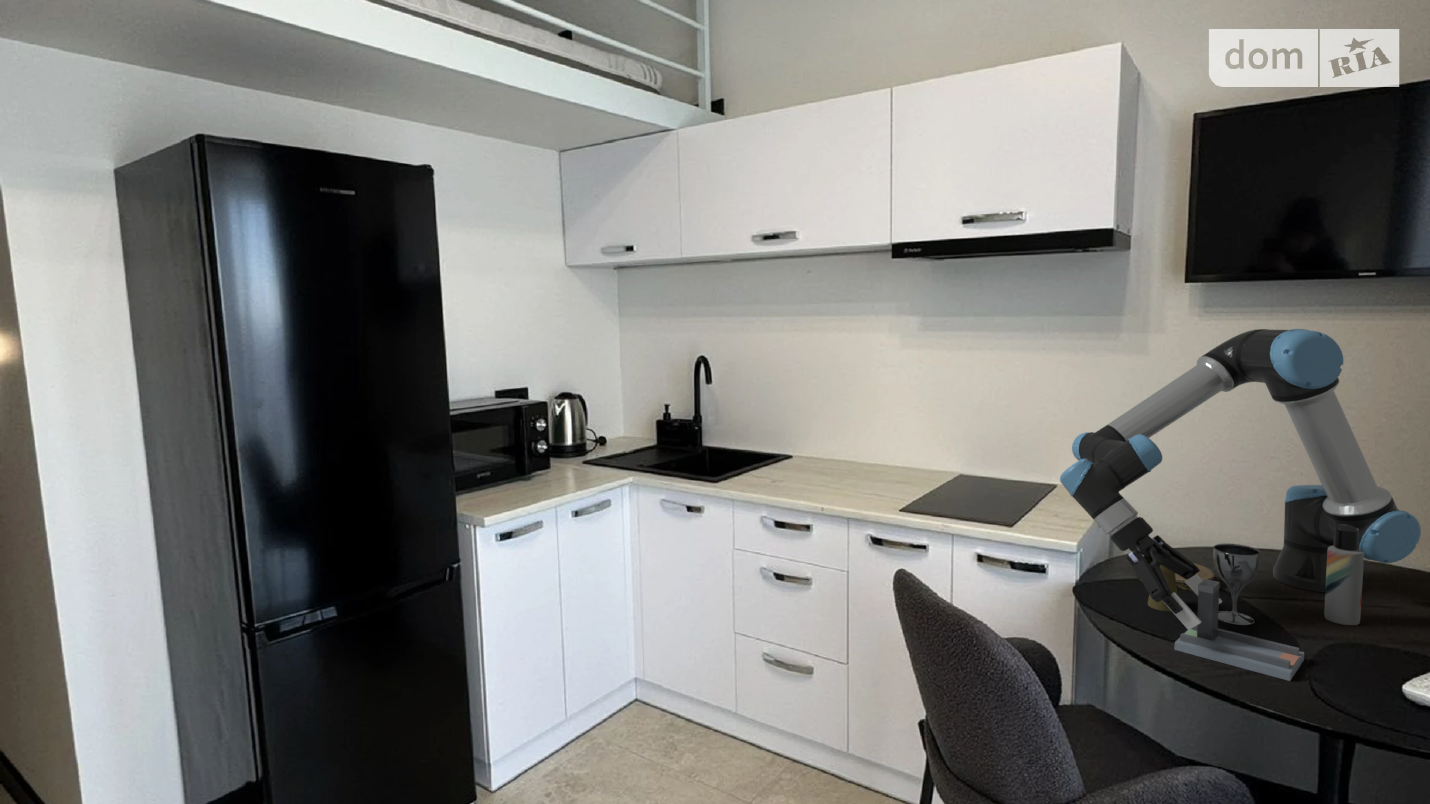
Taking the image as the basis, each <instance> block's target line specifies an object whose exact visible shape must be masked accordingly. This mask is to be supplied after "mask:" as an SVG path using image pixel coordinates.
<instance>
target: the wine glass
mask: <svg viewBox="0 0 1430 804" xmlns="http://www.w3.org/2000/svg"><path fill="white" fill-rule="evenodd" d="M1260 560H1261V552H1260V550H1259V549H1257V548H1255V547H1253V546H1249V545H1244V544H1238V543H1217V544H1214V545H1213V563H1214V567H1215V571H1216V574H1217V575H1218V577H1219V578H1220V579H1221V580H1222V581H1223V583H1225V585H1227V587H1228V589H1229V591H1230V594H1231V611H1229V610H1228V611H1227V610H1225V611H1224V610H1223V611H1222V610H1218V621H1221V622H1224V623H1227V624H1232V625H1238V626H1248V625H1249V626H1250V625H1253V624H1254V623H1255V622H1256V620H1255V621H1254V618H1253V617H1252V616H1250V615H1247V614H1245V613H1241V612H1238V609H1237V605H1238V599H1239V594H1240V592H1241V590H1242V589H1243V588H1244V587H1246V586H1247V585H1248V584H1250V583H1251V582H1252V581H1253V580H1255V578H1256V576H1257V574H1258V571H1259V568H1260Z"/></svg>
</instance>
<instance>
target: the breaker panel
mask: <svg viewBox="0 0 1430 804" xmlns="http://www.w3.org/2000/svg"><path fill="white" fill-rule="evenodd" d="M1179 635H1180V637H1179V638H1177V640H1175V642H1174V651H1178V652H1181V653H1185V654H1190V655H1193V656H1196V657H1200V658H1204V659H1208V660H1212V661H1215V662H1218V663H1222V664H1226V665H1228V666H1229V665H1230V666H1233V667H1237V668H1241V669H1244V670H1247V671H1251V672H1254V673H1255V672H1256V673H1258V674H1263V675H1266V676H1271V677H1274V678H1278V679H1282V680H1285V681H1288V682H1291V680H1292V679H1293V677H1294V676H1295V675H1296V673H1297V672H1298V670H1299V668H1300V667H1301V666H1302V664H1303V662H1304V661H1305V652H1304V651H1300V647H1297V646H1292V645H1288V644H1284V643H1279V642H1276V641H1272V640H1267V639H1265V638H1264V639H1263V638H1259V637H1255V636H1252V635H1247V634H1243V633H1240V632H1235V631H1231V630H1226V629H1224V628H1223V629H1222V628H1219V627H1218V637H1217V638H1216V639H1215V640H1214V641H1211V640H1207V639H1203V638H1199V637H1197V625H1196V626H1195V627H1193V628H1191V629H1189V630H1188V629H1186V631H1185V632H1183V633H1180V634H1179Z"/></svg>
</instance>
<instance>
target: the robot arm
mask: <svg viewBox="0 0 1430 804" xmlns="http://www.w3.org/2000/svg"><path fill="white" fill-rule="evenodd" d="M1342 365H1344V355H1343V351H1342V349H1341V347H1340V345H1339V344H1338V343H1337V342H1336V340H1334V339H1333V338H1332V337H1331V336H1329V335H1328V334H1325V333H1324V332H1320V331H1318V330H1317V331H1315V330H1310V329H1305V328H1292V329H1268V328H1267V329H1266V328H1265V329H1263V328H1261V329H1260V328H1259V329H1253V330H1248V331H1245V332H1242V333H1239V334H1236V336H1233V337H1231V338H1230V339H1228V340H1226V341H1224V342H1222V343H1221V344H1219V345H1217V346H1215V347H1214V348H1213V349H1210V350H1209V351H1208V352H1206V353H1204V354H1202V356H1200V357H1198V359H1197V360H1196V365H1195V366H1193V367H1191V368H1190V369H1189V370H1188V371H1186V372H1184V373H1183V374H1181V375H1180V376H1179V377H1176V378H1175V379H1174V380H1172V381H1171V382H1169V383H1168V384H1167V385H1164V386H1163V387H1161V388H1160V389H1159V390H1157V391H1156V392H1154V393H1153V394H1151V395H1150V396H1148V397H1147V398H1146V399H1143V400H1142V401H1140V402H1139V403H1138V404H1136V405H1135V406H1133V407H1132V408H1130V409H1128V410H1127V411H1126V412H1125V413H1123V414H1121V415H1120V416H1118V417H1116V418H1115V419H1113V420H1112V421H1110V422H1109V423H1108V424H1106V425H1105V426H1103V427H1101V428H1100V429H1098V430H1097V431H1095V432H1093V431H1089V432H1083V433H1082V432H1081V434H1078V435H1077V436H1076V437H1075V438H1074V439H1073V442H1072V445H1071V451H1072V455H1073V456H1074V458H1075V459H1076V460H1077V461H1076V462H1075V463H1073V464H1071V466H1069V467H1068V468H1066V469H1065V470H1064V471H1063V472H1062V473H1060V477H1059V482H1060V483H1061V484H1062V486H1063V487H1064V488H1065V489H1066V491H1067V492H1068V494H1069V496H1071V497H1072V498H1073V499H1074V500H1075V501H1076V503H1077V504H1078V505H1079V506H1080V507H1082V509H1084V511H1085V513H1087V514H1088V515H1089V516H1090V517H1091V519H1092V520H1094V522H1095V523H1096V526H1097V527H1098V528H1100V529H1101V530H1102V531H1103V532H1104V533H1105V535H1111V536H1110V540H1111V541H1112V542H1113V544H1114V545H1115V546H1116V547H1117V548H1118V549H1119V550H1120V551H1121V552H1125V551H1128V550H1129V551H1130V552H1129V553H1128V554H1126V555H1125V559H1126V560H1127V561H1128V562H1129V563H1130V565H1131V566H1132V568H1133V569H1134V570H1135V572H1136V575H1137V574H1138V576H1139V577H1140V579H1141V580H1140V581H1141V583H1142V584H1143V586H1144V588H1145V589H1146V591H1147V593H1148V595H1149V594H1150V596H1151V598H1152V599H1153V600H1155V601H1156V602H1159V601H1161V600H1162V601H1163V602H1164V603H1165V604H1166V606H1167V607H1168V608H1169V609H1170V610H1171V611H1170V612H1172V613H1173V615H1174V616H1175V618H1177V619H1178V620H1179V621H1180V622H1181V624H1182V625H1184V627H1185V628H1186V630H1189V629H1191V628H1193V627H1195V626H1196V625H1198V624H1200V623H1201V621H1200V620H1199V618H1198V615H1196V614H1195V613H1194V612H1193V611H1192V609H1191V608H1190V607H1189V606H1188V605H1187V603H1185V602H1184V601H1183V599H1182V598H1180V596H1179V595H1177V594H1176V593H1175V592H1174V593H1171V591H1170V588H1169V586H1168V584H1167V582H1166V580H1165V577H1164V575H1163V573H1162V571H1161V569H1160V565H1163V566H1164V567H1166V568H1168V569H1169V570H1171V571H1173V572H1174V573H1176V574H1178V575H1179V576H1181V577H1183V578H1184V579H1188V580H1186V581H1185V583H1186V584H1187V585H1188V586H1189V587H1190V588H1191V589H1192V590H1193V591H1194V592H1193V593H1194V594H1195V595H1196V596H1197V597H1198V584H1200V583H1201V582H1202V581H1203V580H1202V579H1201V578H1200V577H1199V576H1198V575H1197V574H1196V573H1198V572H1199V571H1200V570H1199V568H1198V567H1196V565H1195V564H1196V563H1195V564H1193V563H1194V562H1192V561H1191V560H1190V559H1188V558H1187V557H1186V556H1184V555H1183V554H1181V553H1180V552H1179V551H1177V550H1176V549H1175V548H1174V547H1173V546H1171V545H1170V544H1168V542H1166V541H1165V540H1164V539H1163V538H1162V537H1161V536H1160V535H1158V534H1157V535H1155V536H1153V537H1151V536H1150V535H1151V534H1152V533H1153V532H1154V529H1153V528H1152V526H1151V525H1150V524H1149V523H1148V522H1147V521H1146V520H1145V519H1144V517H1141V516H1138V513H1139V512H1138V511H1137V510H1136V509H1135V508H1134V507H1133V506H1132V505H1131V503H1129V501H1128V500H1127V499H1126V498H1124V496H1123V495H1122V494H1121V493H1120V492H1121V491H1122V490H1124V489H1125V488H1126V487H1128V486H1130V485H1132V483H1134V482H1135V481H1138V480H1139V479H1141V478H1142V477H1143V476H1145V475H1147V474H1149V473H1150V472H1151V471H1152V470H1154V469H1155V468H1156V467H1157V466H1158V465H1160V464H1161V463H1162V461H1163V454H1162V451H1161V450H1160V448H1159V447H1158V445H1157V444H1156V443H1155V442H1154V441H1153V440H1152V439H1151V437H1153V436H1154V435H1156V434H1158V433H1159V432H1161V431H1162V430H1164V429H1165V428H1167V427H1169V425H1171V424H1173V423H1175V422H1177V420H1179V419H1180V418H1182V417H1183V416H1185V415H1186V414H1188V413H1190V412H1191V411H1193V410H1194V409H1196V408H1197V407H1199V406H1200V405H1202V404H1203V403H1206V402H1207V401H1208V400H1209V399H1211V398H1213V397H1215V396H1216V395H1218V394H1219V393H1220V392H1225V393H1226V392H1227V393H1228V392H1231V391H1232V390H1234V389H1236V388H1237V387H1239V386H1241V385H1244V384H1248V383H1262V384H1265V386H1266V388H1267V389H1268V392H1269V394H1270V396H1271V399H1272V400H1273V401H1274V402H1275V403H1279V404H1282V405H1284V406H1285V408H1286V410H1287V413H1288V414H1289V418H1290V419H1291V421H1292V423H1293V425H1294V427H1295V430H1296V432H1297V434H1298V436H1299V438H1300V440H1301V443H1302V446H1303V447H1304V449H1305V452H1306V454H1307V456H1308V458H1309V460H1310V462H1311V464H1312V466H1313V468H1314V470H1315V474H1316V475H1317V478H1318V479H1319V482H1320V483H1321V484H1299V485H1293V486H1290V487H1288V489H1287V490H1286V494H1285V500H1284V521H1283V522H1284V523H1283V525H1284V527H1283V546H1282V549H1281V550H1280V552H1279V555H1278V557H1277V560H1276V562H1275V564H1274V565H1273V569H1272V570H1273V571H1272V573H1273V574H1272V577H1273V578H1274V579H1275V580H1276V581H1278V582H1280V583H1282V584H1284V585H1287V586H1290V587H1294V588H1297V589H1301V590H1306V591H1313V592H1319V593H1325V589H1326V570H1327V551H1328V547H1330V546H1333V544H1334V529H1335V527H1337V525H1340V524H1345V525H1350V526H1353V527H1355V528H1358V529H1359V546H1358V549H1360V550H1362V551H1363V552H1364V559H1366V560H1368V561H1375V562H1377V563H1382V564H1392V563H1397V562H1399V561H1401V560H1404V559H1405V558H1406V557H1408V556H1410V555H1411V553H1413V551H1414V550H1415V548H1416V547H1417V545H1418V543H1419V542H1420V539H1421V534H1422V533H1421V531H1422V529H1421V524H1420V522H1419V520H1418V519H1417V517H1415V516H1414V515H1413V514H1412V513H1409V512H1408V511H1405V510H1401V509H1398V506H1397V505H1396V503H1395V500H1394V498H1393V496H1392V494H1391V492H1390V491H1389V490H1388V489H1387V488H1384V487H1381V486H1378V485H1377V483H1376V480H1375V478H1374V476H1373V474H1372V471H1371V469H1370V467H1369V465H1368V462H1367V460H1366V458H1365V456H1364V454H1363V452H1362V450H1361V447H1360V444H1359V443H1358V441H1357V439H1356V436H1355V434H1354V432H1353V430H1352V428H1351V425H1350V423H1349V421H1348V419H1347V417H1346V415H1345V412H1344V410H1343V408H1342V405H1341V404H1340V401H1339V399H1338V397H1337V394H1336V392H1335V390H1336V388H1337V387H1338V385H1340V379H1339V376H1340V375H1341V373H1342V370H1343V369H1342V368H1341V366H1342ZM1222 602H1223V600H1222V599H1221V598H1220V597H1219V605H1220V604H1222Z"/></svg>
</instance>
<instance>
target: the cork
mask: <svg viewBox="0 0 1430 804" xmlns="http://www.w3.org/2000/svg"><path fill="white" fill-rule="evenodd" d="M1160 569H1161V571H1162V573H1163V575H1164V577H1165V580H1166V582H1167V584H1168V586H1169V588H1170V591H1171V593H1174V592H1175V593H1176V594H1177V595H1178V591H1177V585H1176V578H1175V574H1176V573H1174V572H1173V571H1171V570H1169V569H1168V568H1166V567H1164V566H1163V565H1160ZM1148 595H1149V596H1148V600H1147V605H1148V606H1149V607H1150V608H1151V609H1154V610H1157V611H1162V612H1172V611H1171V610H1170V609H1169V608H1168V607H1167V606H1166V604H1165V603H1164V602H1163V601H1162V600H1161V601H1159V602H1156V601H1155V600H1153V599H1152V598H1151V596H1150V594H1149V593H1148ZM1178 596H1179V595H1178Z"/></svg>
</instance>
